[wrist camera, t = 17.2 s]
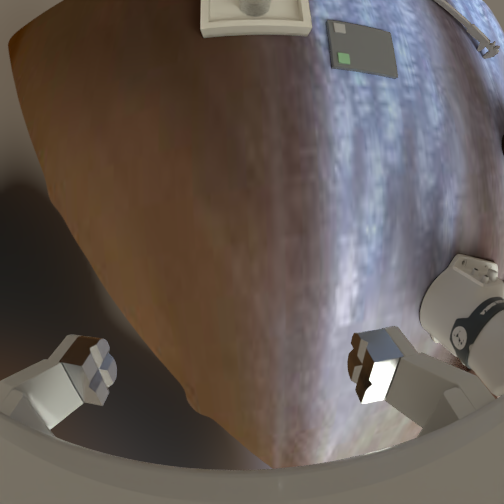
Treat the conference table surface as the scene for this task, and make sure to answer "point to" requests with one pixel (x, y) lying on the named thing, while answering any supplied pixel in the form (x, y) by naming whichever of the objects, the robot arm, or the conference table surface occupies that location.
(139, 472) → the robot arm
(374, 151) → the conference table surface
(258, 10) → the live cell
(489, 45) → the caliper
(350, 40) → the dark grey plate
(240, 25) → the trough
